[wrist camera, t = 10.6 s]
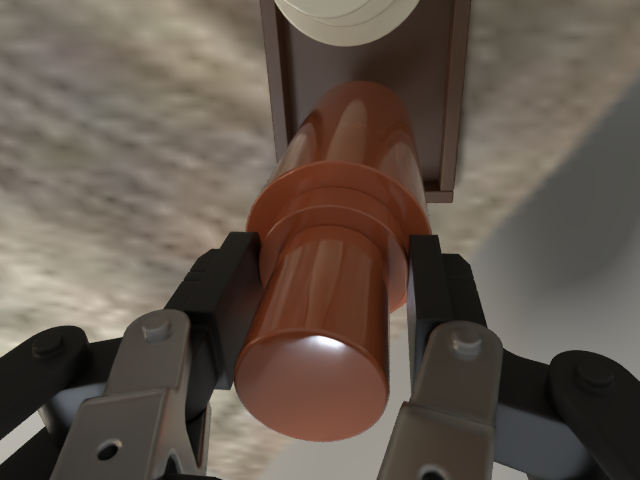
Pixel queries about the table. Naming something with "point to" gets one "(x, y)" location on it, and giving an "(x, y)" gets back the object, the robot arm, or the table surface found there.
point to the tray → (379, 79)
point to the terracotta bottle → (333, 266)
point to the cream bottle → (346, 19)
